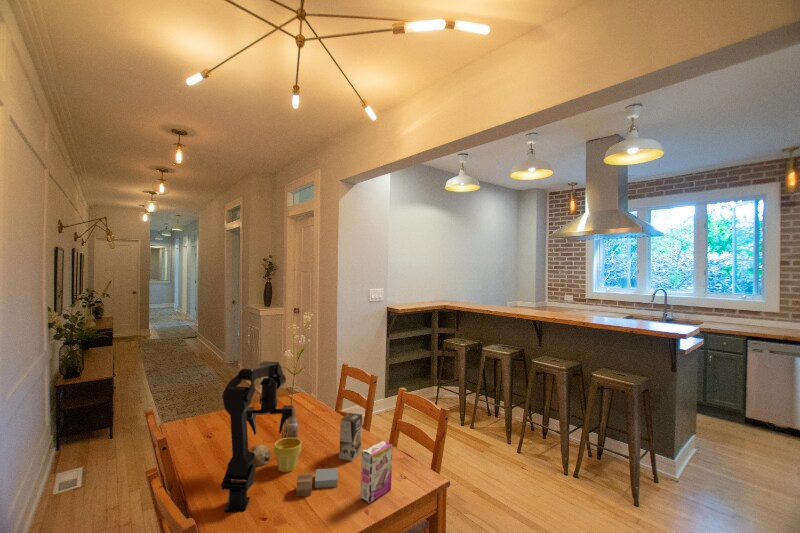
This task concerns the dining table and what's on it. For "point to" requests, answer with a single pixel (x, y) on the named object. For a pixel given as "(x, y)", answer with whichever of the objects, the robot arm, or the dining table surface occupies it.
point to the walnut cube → (304, 484)
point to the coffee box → (350, 436)
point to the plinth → (326, 478)
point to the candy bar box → (376, 471)
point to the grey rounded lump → (260, 454)
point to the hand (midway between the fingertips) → (267, 434)
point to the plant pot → (287, 453)
